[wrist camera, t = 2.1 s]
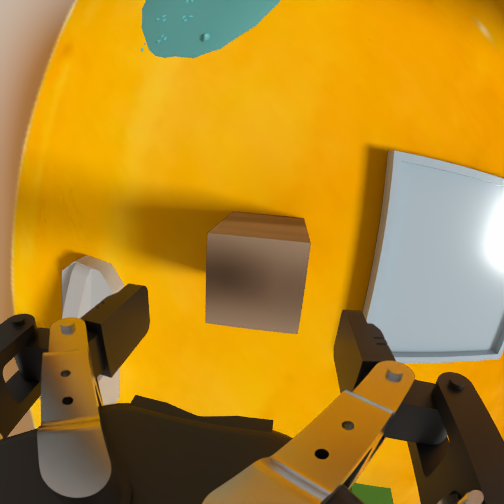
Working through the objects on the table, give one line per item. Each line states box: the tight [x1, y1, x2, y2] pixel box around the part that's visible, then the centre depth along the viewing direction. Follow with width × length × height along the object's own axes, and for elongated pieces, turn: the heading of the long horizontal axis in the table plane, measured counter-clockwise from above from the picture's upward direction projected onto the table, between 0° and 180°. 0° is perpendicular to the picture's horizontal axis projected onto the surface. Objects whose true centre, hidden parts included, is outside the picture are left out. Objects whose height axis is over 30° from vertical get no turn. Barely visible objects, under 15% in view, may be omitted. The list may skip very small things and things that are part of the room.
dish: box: [363, 150, 504, 363], centre depth 20 cm, size 16×16×1 cm
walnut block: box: [206, 212, 311, 334], centre depth 19 cm, size 5×5×7 cm
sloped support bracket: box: [40, 255, 124, 405], centre depth 23 cm, size 6×18×8 cm, turn 165°
